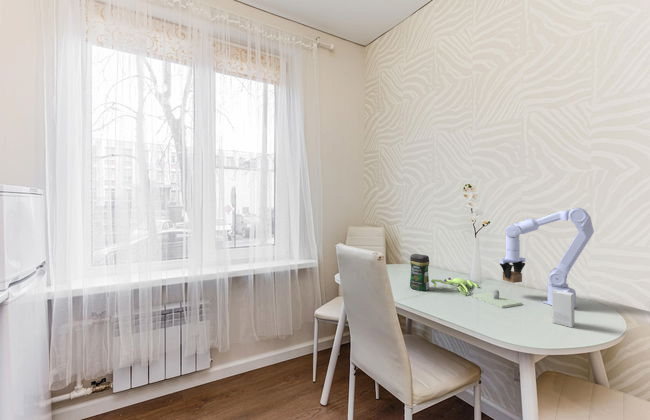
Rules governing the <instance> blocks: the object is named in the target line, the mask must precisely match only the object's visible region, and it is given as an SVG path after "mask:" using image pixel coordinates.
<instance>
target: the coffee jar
mask: <svg viewBox="0 0 650 420" xmlns="http://www.w3.org/2000/svg"><path fill="white" fill-rule="evenodd" d="M409 263H410V281H409V288H411V289H413V290H416V291H419V292H423V291H429V290H430V280H429V265H430V257H429V256H428V255H426V254H421V253H420V254H419V253H414V254H411V255H410V259H409Z"/></svg>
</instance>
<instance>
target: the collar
mask: <svg viewBox="0 0 650 420" xmlns="http://www.w3.org/2000/svg"><path fill="white" fill-rule="evenodd" d="M502 280H503V281H505V282H508V283H512V284H515V283H522V282H523V273H522V272H521V273H518V272H514V270H511V276H510V278H505V275H504V271H502Z"/></svg>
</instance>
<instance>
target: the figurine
mask: <svg viewBox="0 0 650 420" xmlns="http://www.w3.org/2000/svg"><path fill="white" fill-rule="evenodd" d="M430 282H431V283H432V284H433V286H434V287H436V286H437V282H438V283H442V284H444V285H445V284H446V285H450V284H451V285H457V289H458V290H459V291H460V292H461V294H462V295H463V296H464V297H467V295H468V294H469V289H468V288H473V286H475V287H476V288H480V284H478V283H477V284H476V283H475V282H474V281H472V280H470V279H468V280H466V279H465V278H464V279H463V278H461V277H455V278H453V279H451V277H448V278H445V279H443V280H441V279H436V278H435V279H431V280H430Z"/></svg>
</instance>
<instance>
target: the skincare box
mask: <svg viewBox="0 0 650 420" xmlns="http://www.w3.org/2000/svg"><path fill="white" fill-rule="evenodd" d="M551 309H552V311H551V312H552V313H551V315H552V323H553V324H557V325H560V326H565V327H568V328H569V327H570V328H574V326H575V324H576V323H575V322H576V321H575V308H574V293H570V292H564V291H558V290H554V291H553V292H552V305H551Z"/></svg>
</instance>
